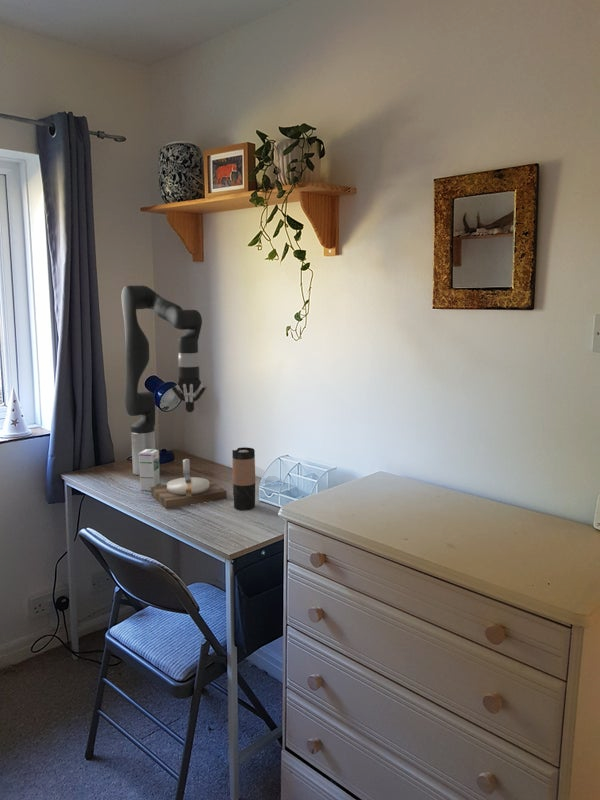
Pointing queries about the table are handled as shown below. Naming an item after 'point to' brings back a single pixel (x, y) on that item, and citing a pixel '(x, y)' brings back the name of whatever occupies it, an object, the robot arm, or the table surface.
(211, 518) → the table surface
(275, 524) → the table surface
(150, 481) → the syrup box
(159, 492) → the dial stand
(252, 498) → the travel mug
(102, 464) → the table surface
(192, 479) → the dial
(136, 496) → the table surface
